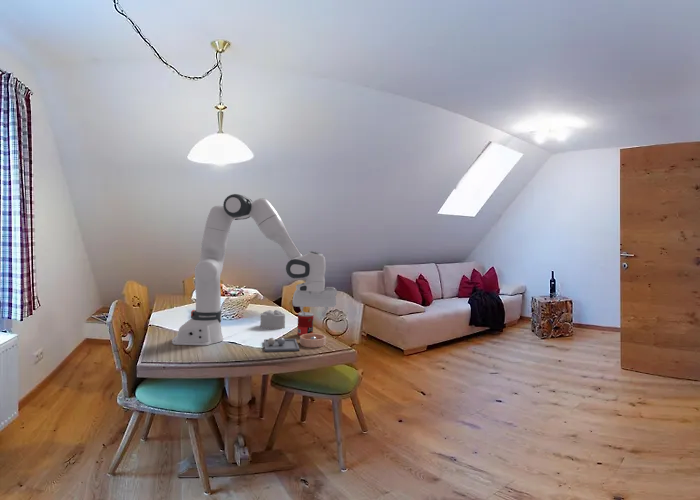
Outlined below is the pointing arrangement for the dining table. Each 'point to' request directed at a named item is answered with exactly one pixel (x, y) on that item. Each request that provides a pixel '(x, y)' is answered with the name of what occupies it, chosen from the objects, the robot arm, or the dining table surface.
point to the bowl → (307, 342)
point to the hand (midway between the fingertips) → (313, 316)
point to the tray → (281, 346)
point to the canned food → (305, 323)
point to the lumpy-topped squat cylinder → (272, 320)
